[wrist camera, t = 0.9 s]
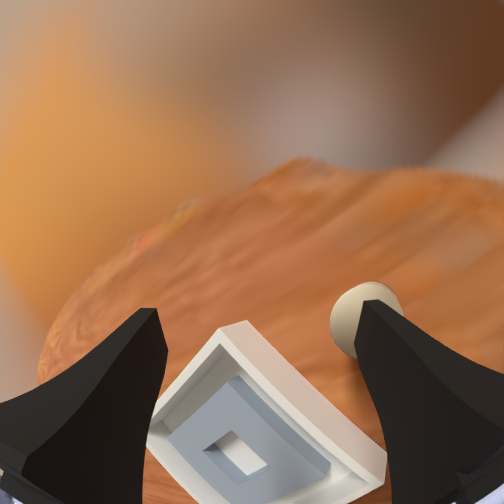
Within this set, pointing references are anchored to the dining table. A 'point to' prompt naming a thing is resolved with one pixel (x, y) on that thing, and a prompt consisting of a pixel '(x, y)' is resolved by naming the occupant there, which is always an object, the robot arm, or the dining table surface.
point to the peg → (357, 312)
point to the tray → (281, 402)
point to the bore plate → (256, 438)
